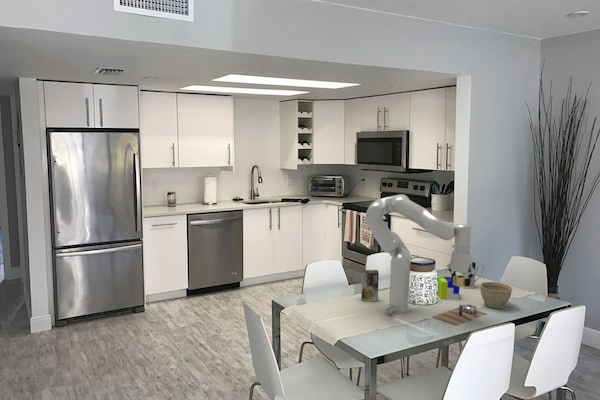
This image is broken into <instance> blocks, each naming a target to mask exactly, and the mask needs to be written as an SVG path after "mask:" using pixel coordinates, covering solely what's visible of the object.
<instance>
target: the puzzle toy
mask: <svg viewBox="0 0 600 400" xmlns="http://www.w3.org/2000/svg"><path fill="white" fill-rule="evenodd" d="M436 279H437V280H436V282H437V281H438V295H437V296H438V297H439V299H441V300H460V288H461V287H460V286H455V285H453V283H452V282H451V276H437V278H436Z"/></svg>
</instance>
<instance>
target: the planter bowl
mask: <svg viewBox="0 0 600 400" xmlns="http://www.w3.org/2000/svg"><path fill="white" fill-rule="evenodd" d="M512 291H513V287H512V286H510V285H508V284H505V283H502V282H496V281H495V282H494V281H484V282H481V283H480V295H481V299H482V300H483V301H484V304H485V306H486V307H488V308H492V309H504V308H505V305H507V303H508V302H509V300H510V298H511V295H512Z"/></svg>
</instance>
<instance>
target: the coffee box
mask: <svg viewBox="0 0 600 400" xmlns="http://www.w3.org/2000/svg"><path fill="white" fill-rule="evenodd" d="M379 275H380V273H379V269H361V298H360V299H361V301H362V302H379Z"/></svg>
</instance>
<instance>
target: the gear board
mask: <svg viewBox="0 0 600 400" xmlns="http://www.w3.org/2000/svg"><path fill="white" fill-rule="evenodd" d="M463 305H464V304H459V306H458V307H456V308H453V309H451V310H447V311H445V312H442V313H439V314H437V315H436V314H435V315H433V316H432V317H431V318H433V319H436V320H438V321H440V322H444V323H448V324H449V325H452V326H455V327H457V326H460V325H462V324H465V323H467V322H469V321H471V320H475V319H477V318H480V317H482V316H486V315H487V313H486V312H483V311H480V310H477V313H476V314H475V313H474V314H471V313H470V314H468V313H465V312H462V310H463Z"/></svg>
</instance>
